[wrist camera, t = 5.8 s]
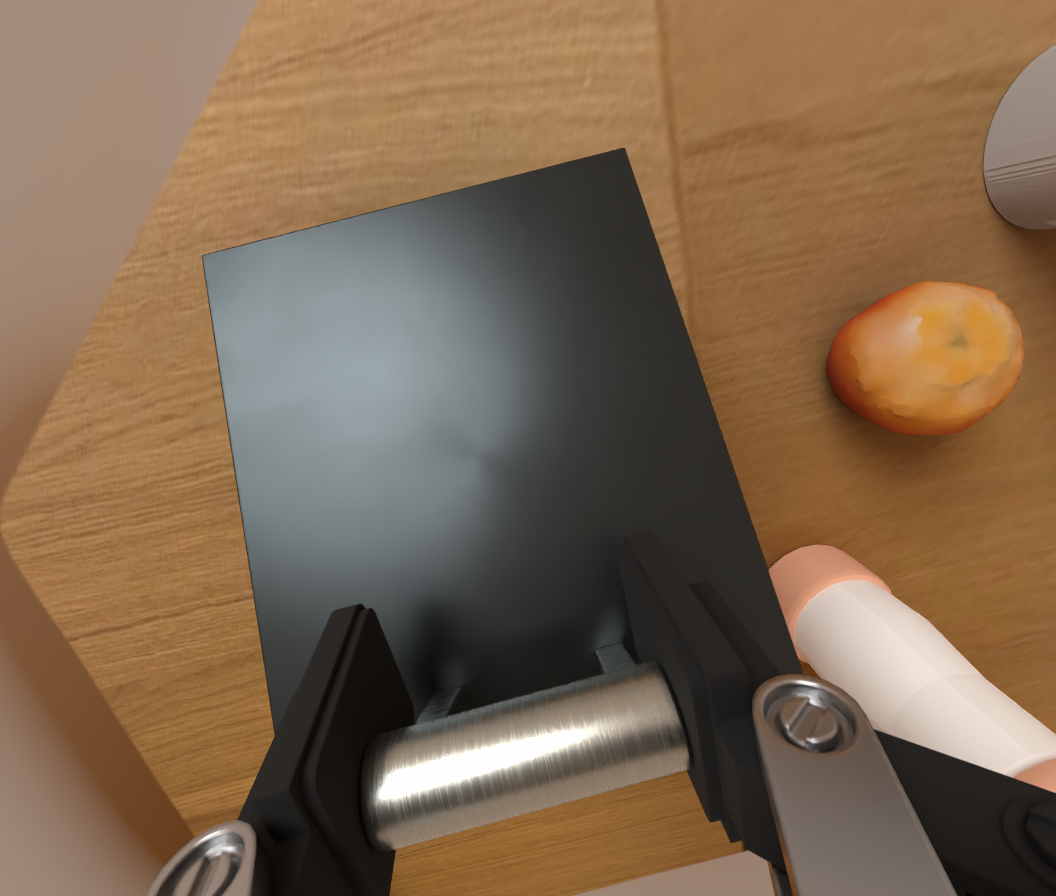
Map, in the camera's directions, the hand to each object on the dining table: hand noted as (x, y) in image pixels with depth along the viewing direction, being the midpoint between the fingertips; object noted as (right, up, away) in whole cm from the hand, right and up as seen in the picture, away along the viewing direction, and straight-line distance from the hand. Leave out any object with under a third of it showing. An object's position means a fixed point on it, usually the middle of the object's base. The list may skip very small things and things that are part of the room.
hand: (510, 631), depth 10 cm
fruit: (+21, +10, +19) cm, 30 cm away
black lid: (-1, +3, +3) cm, 5 cm away
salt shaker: (+20, -6, +24) cm, 32 cm away
